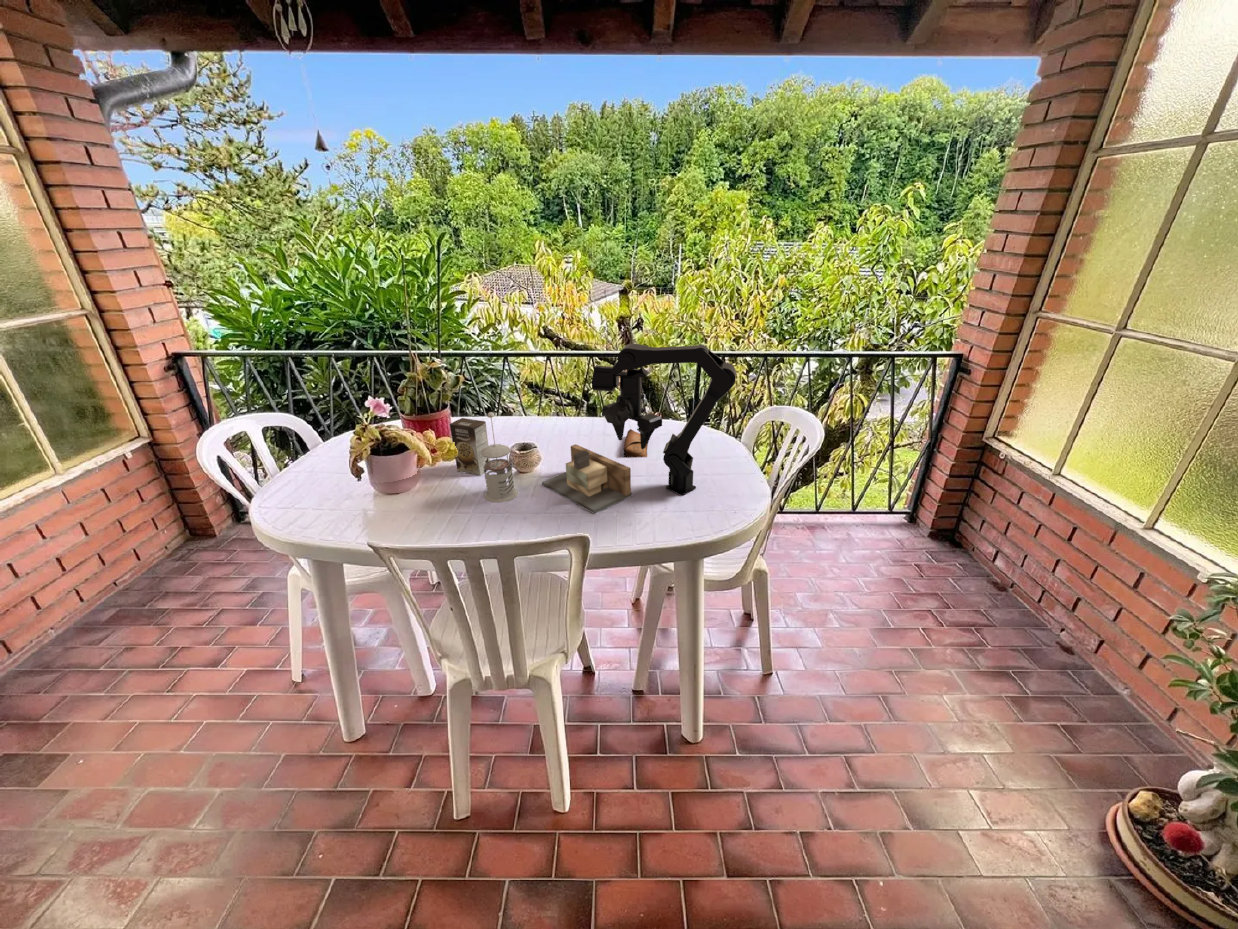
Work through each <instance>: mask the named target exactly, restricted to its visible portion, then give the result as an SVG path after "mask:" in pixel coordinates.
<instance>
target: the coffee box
mask: <svg viewBox="0 0 1238 929" xmlns="http://www.w3.org/2000/svg"><path fill="white" fill-rule="evenodd" d="M449 427H450V428H449V429H450V433H451V440H452V443H453V442H455V446H456V448H457V450H458V456H457V457H455V456H454V459H455V463H456V464H455V465H456V471H457V472H460V473H464V472H465V473H464V474H469V473H470V475H475V476H482V475H484V469H485V464H486V463H487V462H488V461H491V458H486V457H484V456H483V455H482V454H481V451H482V450H483V449H484V448H486V447H488V446H489V438H488V432H487V431H488V430H487V423H486V421H485V420H478V419H472V418H464V417H461V418H460V419H457V420H454V421H453V422H451V423H449ZM486 472H489V470H487V471H486Z"/></svg>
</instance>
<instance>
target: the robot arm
mask: <svg viewBox="0 0 1238 929" xmlns="http://www.w3.org/2000/svg"><path fill="white" fill-rule="evenodd" d="M686 363H687V364H688V363H689V364H691V363H695V364H697V365H699V367H700V368H701V369H702V370H703V371H704V373H705V374H706V375H707V376H708V377H709V378H710V381H709V382H708V386H707V389H706V391H705V393H703V396H702V398H701V400H700V401H699V402H698V404H697V406H696V407H695V409H694V410H693V412H692V414H691V415H690V417H689V419H687V421H686V424H685V425H684V427H683V429H682V430H681V431H680V432H679V433H678V435H676V434H674V433H672V434H671V437H670V438H669V441H668V442H666V443H665V446H664V449H663V451H662V454H664V455H663V456H662V457H663V459H662V460H663V463H664V464H665V466H667V467H668V469H669V471H668V485H666V486H665V489H667V490H668V491H671V492H672V493H675V494H678V495H680V496H685V495H687V494H688V493H690V492H692V491H695V489H697V486H696V485H694V470H693V469H692V466H693V461H694V457H693V456H692V455H691V454H690V453H689V450H690V446H691V445H692V442H693V441H694V439H695V437H696V436H697V435H698V433H699V431H700V429H701V428H702V427H703V424H704V423H705V422H706V420H707V418H708V417H709V416H710V414H711V413H712V411H713V409H714V407H715V406H716V405H717V403H718V402H719V401H720V400H721V399H722V398H723V397H724V396H726V395H727V393H728V392H729V391H730V390H731V389H732V388H734V386H735V384H736V381H737V380H736V377H737V371H736V368H735V366H734V365H733V364H732V363H729V362H726V361H724V360H723V359H722V358H721V357H719V356H718V355H717V354H716V353H714V352H712V351H711V350H710V349H709V348H708V346H706V345H704V344H698V345H687V346H685V345H684V346H682V345H681V346H662V347H661V346H660V347H658V346H657V347H656V346H655V347H653V346H649V345H645V344H640V343H627V344H625V346H623V347H622V349H621V350H620V351H619V352H618V355H617V362H615V363H614V365H613V366H610V365H609V366H605V365H604V366H603V365H598V364H597V365H596V364H595V365H594V367H593V372H592V377H591V379H592V380H591V388H592V390H593V391H595V392H596V391H601V392H615V389H617V388H619V387H620V388H619V393H620V394H619V395H617V396H616V402H611V403H609V404H605V405H603V407H602V409H601V416H602V417H604V419H605V420H606V422H607V423H608V424H612V427H613V428H614V432H615V434H616V436H617V440H618V441H622V440H623V437H624V431H625V424H626V422H627V421H628V420H632V421H635V422H637V424H636V425H637V427H638V428H636V430H637V431H638V433H640V440H641V449H644V448H645V447H646V445H647V443H648V444H649V440H650V439H651V436H652V435H653V433H654V431H655V430H657V429H659V428H660V427H662V426H663V418H662V416H660V415H657V414H654V413H648V414H645V415H642V414H644V413H645V408H644V407H642V400H644V399H645V394H643V393H642V378H647V377H648V375H649V371H648V370H647V369H645V368H644V367H647V366H649V365H657V364H658V365H662V364H686ZM626 370H627V371H626Z"/></svg>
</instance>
